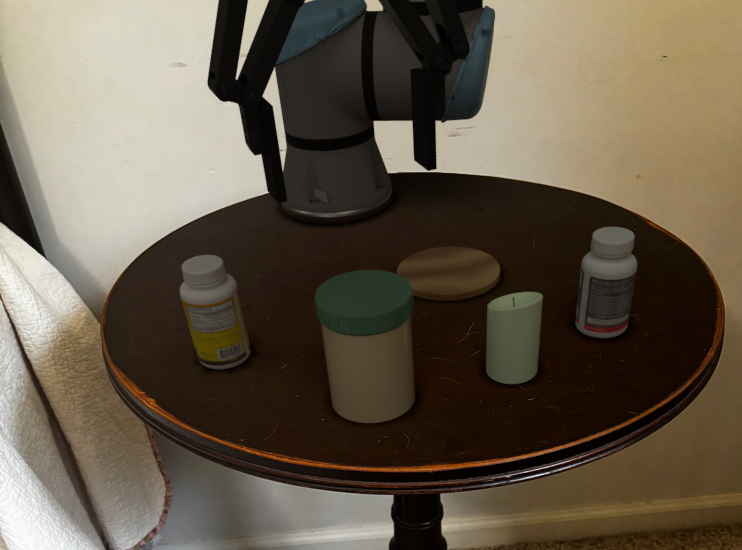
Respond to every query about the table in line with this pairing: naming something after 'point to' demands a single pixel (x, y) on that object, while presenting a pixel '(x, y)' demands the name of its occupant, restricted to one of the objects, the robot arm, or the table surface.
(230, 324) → the supplement bottle
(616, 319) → the pill bottle
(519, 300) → the candle
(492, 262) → the coaster
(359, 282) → the lid
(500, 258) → the table surface
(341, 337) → the jar
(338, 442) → the table surface
